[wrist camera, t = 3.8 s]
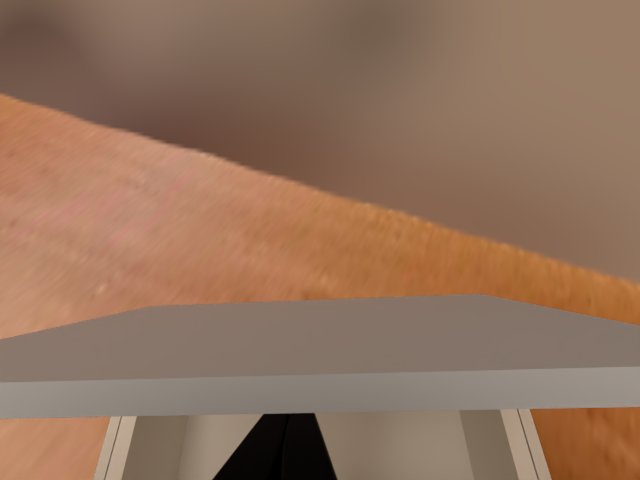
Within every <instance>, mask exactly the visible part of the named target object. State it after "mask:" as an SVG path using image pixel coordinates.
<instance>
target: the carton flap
mask: <svg viewBox="0 0 640 480" xmlns="http://www.w3.org/2000/svg"><path fill="white" fill-rule="evenodd" d="M601 407H640V326H639V325H634V324H629V323H624V322H619V321H614V320H609V319H604V318H599V317H594V316H589V315H584V314H579V313H574V312H569V311H564V310H559V309H554V308H549V307H544V306H539V305H534V304H529V303H524V302H519V301H514V300H509V299H504V298H499V297H494V296H489V295H484V294H461V295H434V296H408V297H381V298H355V299H328V300H301V301H275V302H248V303H222V304H195V305H169V306H149V307H145V308H140V309H136V310H131V311H127V312H122V313H118V314H113V315H109V316H104V317H100V318H95V319H91V320H86V321H82V322H78V323H73V324H69V325H64V326H60V327H55V328H51V329H46V330H42V331H37V332H33V333H28V334H24V335H19V336H15V337H10V338H6V339H1V340H0V419H13V418H67V417H120V416H174V415H227V414H280V413H334V412H387V411H441V410H494V409H547V408H601Z"/></svg>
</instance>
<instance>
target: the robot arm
mask: <svg viewBox="0 0 640 480" xmlns="http://www.w3.org/2000/svg"><path fill="white" fill-rule="evenodd" d="M212 480H338V479H337V476H336V473H335V470H334V467H333V464H332V461H331V459H330V456H329V453H328V450H327V447H326V444H325V441H324V438H323V435H322V432H321V430H320V427H319V424H318V421H317V418H316V415H315V413H280V414H263V415H262V416H261V418H260V419H259V420H258V421H257V423H256V424H255V425H254V426H253V428H252V429H251V430H250V432H249V433H248V434H247V435H246V437H245V438H244V439H243V441H242V442H241V443H240V444H239V446H238V447H237V448H236V450H235V451H234V452H233V453H232V455H231V456H230V457H229V459H228V460H227V461H226V462H225V464H224V465H223V466H222V468H221V469H220V470H219V471H218V473H217V474H216V475H215V476H214V478H213V479H212Z"/></svg>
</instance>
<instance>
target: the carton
mask: <svg viewBox="0 0 640 480" xmlns="http://www.w3.org/2000/svg"><path fill="white" fill-rule="evenodd" d="M262 415H263V414H227V415H174V416H120V417H111V419H110V422H109V426H108V429H107V433H106V436H105V440H104V443H103V447H102V450H101V454H100V457H99V461H98V464H97V468H96V472H95V475H94V479H93V480H212V479H213V478H214V476H215V475H216V474H217V473H218V471H219V470H220V469H221V468H222V466H223V465H224V464H225V462H226V461H227V460H228V459H229V457H230V456H231V455H232V453H233V452H234V451H235V450H236V448H237V447H238V446H239V444H240V443H241V442H242V441H243V439H244V438H245V437H246V435H247V434H248V433H249V432H250V430H251V429H252V428H253V426H254V425H255V424H256V423H257V421H258V420H259V419H260V418H261V416H262ZM315 415H316V418H317V421H318V424H319V427H320V430H321V432H322V435H323V438H324V441H325V444H326V447H327V450H328V453H329V456H330V459H331V461H332V464H333V467H334V470H335V473H336V476H337V479H338V480H552V479H551V476H550V473H549V469H548V466H547V463H546V460H545V457H544V454H543V450H542V447H541V444H540V441H539V438H538V435H537V431H536V428H535V425H534V422H533V419H532V416H531V412H530V409H494V410H441V411H387V412H334V413H315Z"/></svg>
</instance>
